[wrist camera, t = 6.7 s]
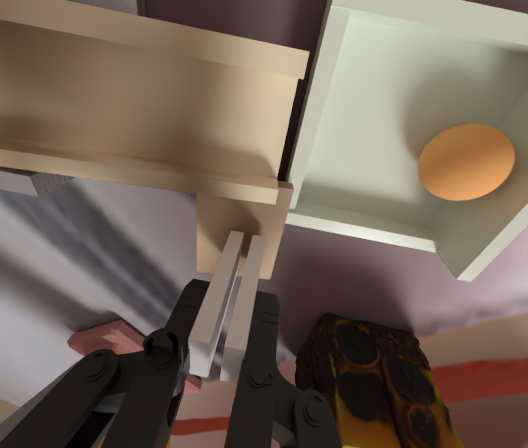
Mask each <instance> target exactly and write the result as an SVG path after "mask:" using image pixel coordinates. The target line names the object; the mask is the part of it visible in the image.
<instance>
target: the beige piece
mask: <svg viewBox="0 0 528 448" xmlns="http://www.w3.org/2000/svg"><path fill="white" fill-rule="evenodd" d="M308 57H309V51H304V50H299V49H294V48H290V47H285V46H280V45H275V44H271V43H266V42H261V41H256V40H252V39H247V38H242V37H237V36H233V35H228V34H223V33H219V32H214V31H209V30H204V29H200V28H195V27H190V26H185V25H181V24H176V23H171V22H166V21H162V20H157V19H152V18H147V17H143V16H138V15H133V14H128V13H124V12H119V11H114V10H109V9H105V8H100V7H95V6H90V5H86V4H81V3H76V2H72V1H67V0H0V166H1V167H9V168H16V169H23V170H30V171H37V172H45V173H52V174H59V175H66V176H73V177H80V178H88V179H95V180H102V181H109V182H116V183H124V184H131V185H138V186H145V187H152V188H160V189H167V190H174V191H181V192H188V193H195V194H197V272H203V273H213V274H214V272H215V270H216V267H217V265H218V262H219V260H220V257H221V255H222V252H223V249H224V247H225V244H226V242H227V239H228V237H229V234H230V232H231V230H233V231H238V232H243V233H244V236H243V243H242V249H241V256H240V263H239V268H238V271H237V275H236V276H241V277H242V276H243V272H244V268H245V264H246V260H247V256H248V252H249V248H250V244H251V240H252V236H253V235H258V236H263V237H266V238H265V244H264V250H263V256H262V261H261V267H260V273H259V278H260V279H270V278H271V274H272V270H273V267H274V263H275V259H276V255H277V252H278V248H279V244H280V240H281V237H282V233H283V229H284V225H285V222H286V218H287V214H288V210H289V206H290V203H291V199H292V195H293V191H294V188H293V184H292V183H289V182H282V181H277V176H278V172H279V167H280V162H281V157H282V153H283V148H284V143H285V139H286V134H287V129H288V125H289V120H290V115H291V111H292V106H293V101H294V96H295V92H296V87H297V82H298V78H299V79H304V75H305V70H306V66H307V61H308Z"/></svg>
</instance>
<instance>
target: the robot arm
mask: <svg viewBox="0 0 528 448" xmlns="http://www.w3.org/2000/svg"><path fill="white" fill-rule="evenodd" d="M243 236H244V233H243V232H238V231H233V230H231V232H230V234H229V237H228V239H227V242H226V244H225V247H224V249H223V252H222V255H221V257H220V260H219V262H218V265H217V267H216V270H215V272H214V275H213V277H212V280H211V282H207V281H203V280H198V279H193V280H192V281H191V282H189V283H188V284H187V285H186V286H185V288H184V290H183V292H182V294H181V297H180V298H179V300H178V302H177V305H176V306H175V308H174V310H173V312H172V314H171V316H170V318H169V320H168V322H167V324H166V326H165V328H162V329H159V330H156V331H154V332H152V333H151V334H150V335H148V336H147V337H146V339H145V340H144V341H143V343H142V344H143V348H144V350H142V351H138V352H133V353H126V354H119V355H117V354H116V353H115V352H114V351H112V350H109V349H100V350H96V351H93V352H91V353H89V354H87V355H86V356H85V357H84V358H82V359H81V360H80V361H79V362H78V363H77V364H76V365H75V366H74V367H73V368H72V369H71V370H70V371H69V372H68V373H67V374H66V375H65V376H64V377H63V378H62V379H61V380H60V381H59V382H58V383H57V384H56V385H55V386H54V387H53V388H52V390H51V391H50V392H49V393H48V394H47V395H46V396H45V397H44V398H43V399H42V400H41V401H40V402H39V403H38V404H37V405H36V406H35V407H34V408H33V409H32V410H31V411H30V412H29V413H28V414H27V415H26V416H25V417H24V418H23V419H22V420H21V421H20V422H19V423H18V424H17V425H16V426H15V427H14V429H13V430H12V431H11V432H10V433H9V434H8V435H7V436H6V437H5V438H4V439H3V440H2V441H1V442H0V448H97V447H98V446H99V444H100V443H101V441H102V440H103V438H104V437H105V438H104V440H103V442H102V444H101V447H100V448H166V447H167V444H168V440H169V437H170V434H171V431H172V428H173V425H174V421H175V418H176V415H177V412H178V409H179V406H180V402H181V399H182V396H183V393H184V388H185V381H186V378H187V375H188V372H189V373H190V374H193V375H198V376H203V377H208V374H209V370H210V367H211V363H212V360H213V356H214V353H215V349H216V346H217V342H218V338H219V335H220V331H221V328H222V324H223V321H224V317H225V314H226V310H227V307H228V303H229V300H230V296H231V293H232V289H233V286H234V282H235V279H236V275H237V271H238V268H239V263H240V256H241V249H242V243H243ZM265 238H266V237H263V236H258V235H253V236H252V240H251V244H250V248H249V252H248V256H247V260H246V264H245V268H244V272H243V276H242V279H241V283H240V287H239V291H238V295H237V299H236V303H235V307H234V311H233V315H232V319H231V323H230V327H229V331H228V335H227V339H226V342H225V347H224V354H223V361H222V369H221V376H220V380H223V381H228V382H233V383H237V388H236V393H235V398H234V402H233V406H232V412H231V416H230V421H229V426H228V431H227V435H226V441H225V445H224V448H271V439H272V438H273V439H274V440H276V441H277V442H278V443H279V444H280V448H342V444H341V441H340V437H339V433H338V430H337V426H336V422H335V418H334V415H333V411H332V409H331V406H330V404H329V402H328V401H327V399H326V398H325V397H324V396H323V395H322V394H321V393H319V392H317V391H315V390H310V389H308V390H305V391H302V390H301V389H299V388H297V387H296V386H294V385H292V384H291V383H289V382H288V381H287V380H286V379H284V377H283V376H282V375H281V374H280V372H279V370H278V368H277V364H276V348H277V333H278V318H279V317H278V316H279V302H278V299H277V296H276V295H275V294H270V293H265V292H260V291H256V290H257V284H258V278H259V273H260V267H261V261H262V256H263V250H264V244H265Z"/></svg>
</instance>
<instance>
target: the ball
mask: <svg viewBox="0 0 528 448" xmlns="http://www.w3.org/2000/svg"><path fill="white" fill-rule="evenodd" d="M514 161H515V151H514V147H513V144H512V142H511V141H510V139H509V138H508V137H507V136H506V135H505V134H504V133H503V132H501V131H500V130H498V129H496V128H494V127H491V126H488V125H483V124H465V125H460V126H456V127H453V128H450V129H448V130H446V131H444V132H442V133H440V134H439V135H437V136H436V137H434V138H433V139H432V140H431V141H430V142H429V143H428V144H427V145H426V147H425V148H424V149H423V151H422V153H421V155H420V157H419V160H418V165H417V171H418V176H419V179H420V181H421V183H422V185H423V186H424V187H425V188H426V189H427V190H428V191H429V192H430V193H432V194H433V195H435V196H437V197H440V198H443V199H447V200H455V201H462V200H470V199H474V198H478V197H481V196H483V195H486V194H488V193H490V192H491V191H493V190H494V189H496V188H497V187H499V186H500V185H501V184H502V183H503V182H504V181H505V180H506V179H507V177H508V176H509V174H510V172H511V170H512V168H513V166H514Z"/></svg>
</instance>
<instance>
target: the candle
mask: <svg viewBox="0 0 528 448" xmlns="http://www.w3.org/2000/svg"><path fill="white" fill-rule="evenodd" d="M419 345H420V343H419V340H418V339H417V338H416V337H415V336H414V335H413V334H409V333H405V332H401V331H397V330H393V329H390V328H387V327H383V326H378V325H374V324H371V323H363V322H352V321H349V320H346V319H343V318H340V317H337V316H334V315H331V314H323V315H322V318H321V319H320V320H319V322H318V324H317V325H316V326H315V327H314V329H313V331H312V333H311V334H310V335H309V337H308V340H306V342H305V344H304V345H303V348H302V350H301V352H300V353H299V354H298V355H297V356H296V357H297V358H296V372H295V384H296V387H297V388H299V389H301V390H302V391H305V390H308V389H310V390H315V391H317V392H319V393H321V394H322V395H323V396H324V397H325V398H326V399H327V401H328V402H329V404H330V406H331V409H332V411H333V415H334V418H335V422H336V426H337V430H338V433H339V437H340V441H341V444H342V448H464V447H463V445H462V443H461V441H460V439H459V437H458V435H457V433H456V431H455V429H454V427H453V424H452V421H451V419H450V415H449V411H448V409H447V407H446V406H445V405H444V403H443V401H442V399H441V397H440V394H439V392H438V390H437V387H436V384H435V381H434V378H433V376H432V373H431V369H430V367H429V363H428V360H427V358H426V356H425V354H424V353H423V352H422V350H421V349H420V348H419Z"/></svg>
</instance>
